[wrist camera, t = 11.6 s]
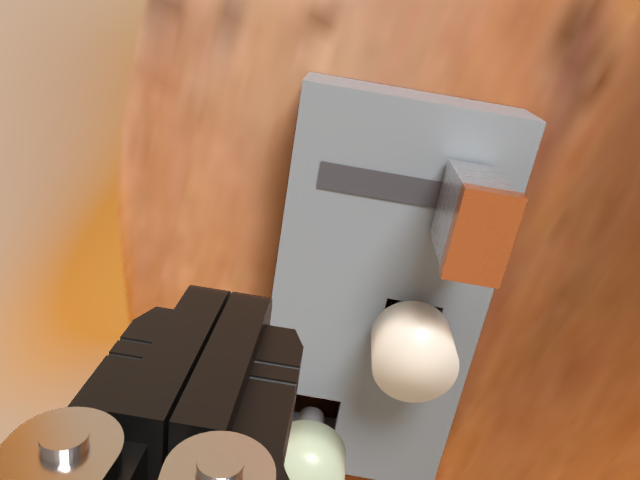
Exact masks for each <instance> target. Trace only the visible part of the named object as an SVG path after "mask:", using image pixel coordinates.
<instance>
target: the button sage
mask: <svg viewBox="0 0 640 480" xmlns="http://www.w3.org/2000/svg"><path fill="white" fill-rule="evenodd" d="M345 461H346V449H345V444H344V442H343V440H342V438H341V437H340V435H339V434H338V433H337V432H336V431H335V430H334V429H332V428H331V427H329V426H328V425H326V424H324V414H323V412H322V411H321V410H320V409H318V408H316V407H306V408H304V409H302V410H301V411H300V413H299V417H298V420H297V421H293V422H292V425H291V431H290V436H289V441H288V447H287V452H286V457H285V463H284V467H285V471H286V473H287V475H288V477H289V479H290V480H345Z"/></svg>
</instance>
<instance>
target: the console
mask: <svg viewBox="0 0 640 480" xmlns="http://www.w3.org/2000/svg"><path fill="white" fill-rule="evenodd" d="M546 123H547V122H545V121H544V120H542V119H540V118H539V117H537V116H535V115H534V114H532V113H530V112H529V111H527V110H525V109H522V108H516V107H511V106H505V105H499V104H493V103H488V102H482V101H476V100H470V99H464V98H459V97H453V96H447V95H441V94H436V93H430V92H424V91H418V90H412V89H407V88H401V87H395V86H389V85H384V84H378V83H372V82H366V81H361V80H355V79H349V78H343V77H337V76H332V75H326V74H320V73H314V72H309V73H308V74H307V76H306V77H305V78H304V79H303V82H302V89H301V96H300V103H299V110H298V117H297V124H296V131H295V138H294V145H293V152H292V159H291V166H290V173H289V180H288V187H287V194H286V201H285V208H284V215H283V222H282V229H281V236H280V243H279V250H278V257H277V264H276V271H275V278H274V285H273V292H272V312H271V321H270V325H272V326H278V327H284V328H290V329H295V330H296V332H297V334H298V336H299V339H300V341H301V343H302V345H303V347H304V348H303V355H302V361H301V368H300V375H299V381H298V388H297V394H298V395H304V396H310V397H316V398H321V399H327V400H333V401H339V402H340V403H339V408H338V413H337V417H336V418H330V417H324V424H326V425H328V426H329V427H331V428H332V429H334V430H335V431H336V432H337V433H338V434H339V435H340V437H341V438H342V440H343V442H344V444H345V449H346V461H345V475H351V476H357V477H363V478H368V479H374V480H434V479H435V476H436V473H437V470H438V467H439V463H440V460H441V457H442V454H443V451H444V447H445V444H446V441H447V438H448V435H449V432H450V428H451V425H452V422H453V419H454V416H455V412H456V409H457V406H458V403H459V400H460V397H461V393H462V390H463V387H464V384H465V381H466V377H467V374H468V371H469V368H470V365H471V362H472V358H473V355H474V352H475V349H476V346H477V342H478V339H479V336H480V333H481V330H482V327H483V323H484V320H485V317H486V314H487V311H488V307H489V304H490V301H491V298H492V295H493V291H494V288H490V287H484V286H478V285H472V284H466V283H461V282H455V281H449V280H443V279H441V278H440V275H439V267H440V264H439V261H438V258H437V255H436V251H435V248H434V245H433V242H432V239H431V235H430V228H431V224H432V220H433V217H434V213H435V209H436V205H437V201H438V197H439V193H440V189H441V185H442V181H443V177H444V173H445V169H446V165H447V161H448V159H453V160H459V161H465V162H471V163H477V164H482V165H488V166H494V167H496V168H497V169H498V170H499V171H500V172H501V174H502V175H503V176H504V177H505V178H506V179H507V180H508V182H509V183H510V184H511V185H512V186H513V187H514V189H515V190H516V191H517V192H520V193H523V194H524V193H525V190H526V186H527V183H528V180H529V177H530V174H531V171H532V167H533V164H534V161H535V158H536V155H537V151H538V148H539V145H540V142H541V139H542V135H543V132H544V129H545V126H546ZM387 298H388V299H394V300H399V301H420V302H424V303H427V304H430V305H432V306H434V307H440V309H439V311H440V312H441V313H442V314H443V315H444V316H445V318H446V319H447V321H448V323H449V326H450V330H451V333H452V337H453V340H454V344H455V347H456V351H457V354H458V358H459V373H458V376H457V379H456V381H455V383H454V384H453V385H452V387H451V388H450V389H449V390H448V391H447V392H446V393H444V394H443V395H441V396H440V397H438V398H436V399H433V400H430V401H426V402H420V403H409V402H403V401H400V400H397V399H394V398H392V397H390V396H389V395H387V394H386V393H385V392H383V391H382V390H381V389H380V388H379V386H378V385H377V383H376V382H375V380H374V377H373V374H372V360H371V329H372V325H373V323H374V321H375V319H376V318H377V316H378V315H379V314H380V313H381V312H382V311H383V310H384V309H385V306H386V301H387ZM299 413H300V412H295V411H294V415H293V420H292V422H293V421H297V420H298V417H299Z"/></svg>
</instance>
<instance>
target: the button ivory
mask: <svg viewBox="0 0 640 480" xmlns="http://www.w3.org/2000/svg"><path fill="white" fill-rule="evenodd" d="M371 360H372V374H373V377H374V380H375V382H376V383H377V385H378V386H379V388H380V389H381V390H382V391H383V392H385V393H386V394H387V395H389V396H390V397H392V398H394V399H397V400H400V401H403V402H409V403H420V402H426V401H430V400H433V399H436V398H438V397H440V396H441V395H443V394H444V393H446V392H447V391H448V390H449V389H450V388H451V387H452V385H453V384H454V383H455V381H456V379H457V376H458V373H459V358H458V354H457V351H456V347H455V344H454V340H453V337H452V333H451V330H450V326H449V323H448V321H447V319H446V318H445V316H444V315H443V314H442V313H441V312H440V311H439V310H438V309H437V308H435V307H434V306H432V305H430V304H427V303H424V302H420V301H397V302H396V303H395V304H393V305H391V306H389V307H387V308H386V309H384V310H383V311H382V312H381V313H380V314H379V315H378V316H377V318H376V319H375V321H374V323H373V325H372V329H371Z"/></svg>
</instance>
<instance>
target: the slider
mask: <svg viewBox="0 0 640 480" xmlns="http://www.w3.org/2000/svg"><path fill="white" fill-rule="evenodd" d="M527 201H528V198H527V197H526V196H525V195H524V194H523V193H520V192H517V191H516V190H515V189H514V187H513V186H512V185H511V184H510V183H509V182H508V180H507V179H506V178H505V177H504V176H503V175H502V174H501V172H500V171H499V170H498V169H497V168H496V167H494V166H488V165H482V164H477V163H471V162H465V161H459V160H453V159H448V161H447V165H446V169H445V173H444V177H443V181H442V185H441V189H440V193H439V197H438V201H437V205H436V209H435V213H434V217H433V220H432V224H431V228H430V235H431V239H432V242H433V245H434V248H435V251H436V255H437V258H438V261H439V264H440V267H439V275H440V278H441V279H443V280H449V281H455V282H461V283H466V284H472V285H478V286H484V287H490V288H495V289H500V286H501V283H502V280H503V277H504V273H505V270H506V267H507V264H508V261H509V258H510V255H511V251H512V248H513V245H514V242H515V239H516V236H517V233H518V229H519V226H520V223H521V220H522V217H523V214H524V211H525V207H526V204H527Z"/></svg>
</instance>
